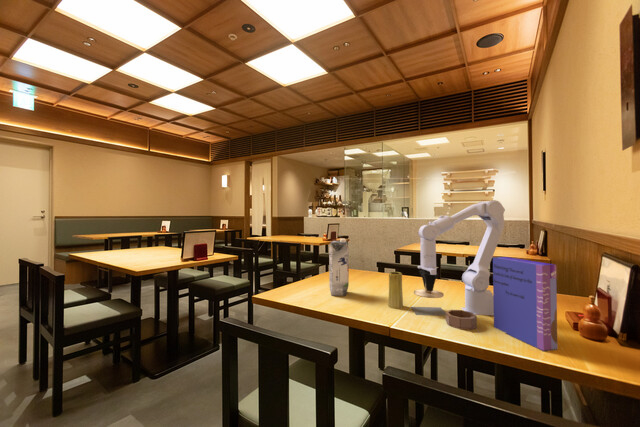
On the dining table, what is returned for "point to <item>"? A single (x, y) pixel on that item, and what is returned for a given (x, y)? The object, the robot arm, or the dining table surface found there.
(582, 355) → the dining table surface
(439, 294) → the lid
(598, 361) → the dining table surface
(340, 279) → the juice carton
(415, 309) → the mat
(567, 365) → the dining table surface
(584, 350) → the dining table surface
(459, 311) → the bowl
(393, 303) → the vase
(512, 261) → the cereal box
